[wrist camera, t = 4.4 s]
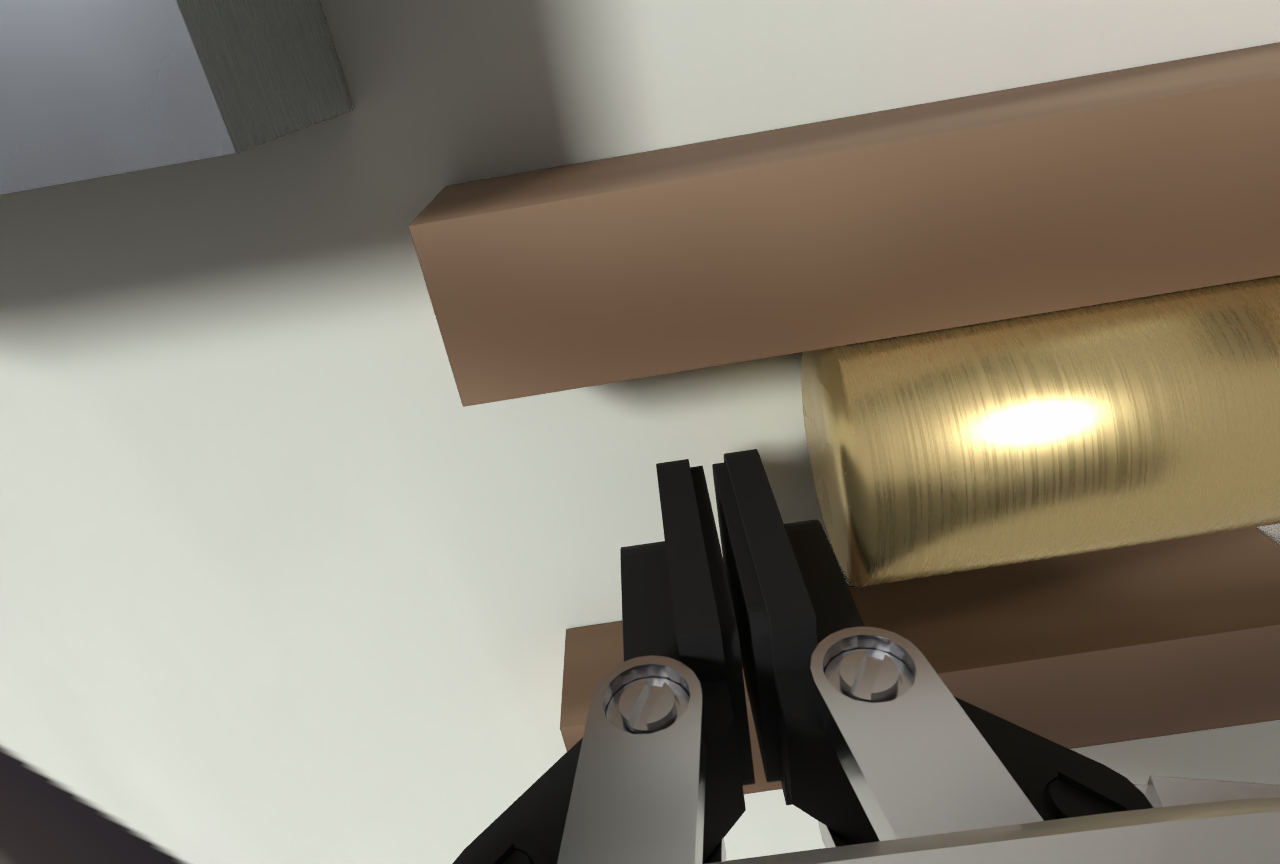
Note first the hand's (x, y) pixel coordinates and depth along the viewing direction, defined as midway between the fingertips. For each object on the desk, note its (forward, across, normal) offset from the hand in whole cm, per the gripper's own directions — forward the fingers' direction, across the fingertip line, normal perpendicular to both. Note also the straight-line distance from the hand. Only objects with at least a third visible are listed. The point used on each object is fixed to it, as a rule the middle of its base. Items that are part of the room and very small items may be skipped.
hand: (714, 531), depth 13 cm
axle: (0, -8, -1) cm, 8 cm away
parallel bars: (+2, -4, 0) cm, 4 cm away
